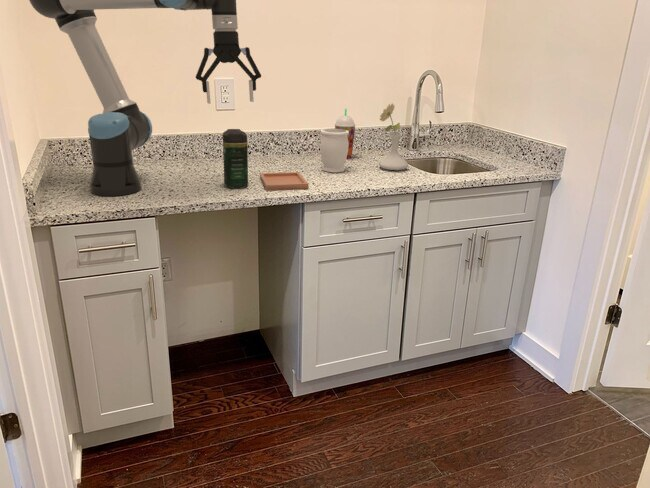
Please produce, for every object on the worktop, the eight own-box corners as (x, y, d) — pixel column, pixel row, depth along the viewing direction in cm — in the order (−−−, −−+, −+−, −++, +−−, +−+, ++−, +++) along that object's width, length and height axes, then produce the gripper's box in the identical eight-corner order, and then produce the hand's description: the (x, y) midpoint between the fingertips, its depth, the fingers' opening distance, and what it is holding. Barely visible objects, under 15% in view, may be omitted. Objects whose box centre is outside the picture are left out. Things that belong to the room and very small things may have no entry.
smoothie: (332, 155, 227) (334, 107, 220) (352, 155, 228) (354, 107, 221) (335, 159, 219) (336, 110, 212) (355, 159, 220) (357, 110, 213)
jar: (314, 169, 202) (314, 130, 197) (332, 165, 209) (333, 127, 204) (334, 175, 196) (336, 134, 190) (352, 170, 203) (354, 131, 197)
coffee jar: (249, 188, 176) (248, 132, 169) (225, 189, 174) (223, 132, 167) (246, 181, 185) (245, 127, 178) (223, 182, 183) (221, 127, 176)
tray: (266, 190, 174) (266, 185, 174) (260, 178, 189) (259, 173, 188) (308, 189, 177) (308, 183, 177) (298, 176, 192) (298, 172, 191)
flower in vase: (394, 164, 215) (399, 100, 206) (413, 170, 206) (419, 104, 197) (369, 167, 208) (372, 102, 199) (387, 174, 199) (392, 105, 190)
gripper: (184, 30, 156) (191, 105, 164) (268, 30, 162) (271, 101, 170) (182, 31, 162) (189, 102, 170) (263, 30, 169) (266, 99, 177)
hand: (230, 102), depth 170 cm, fingers open, 13 cm apart
